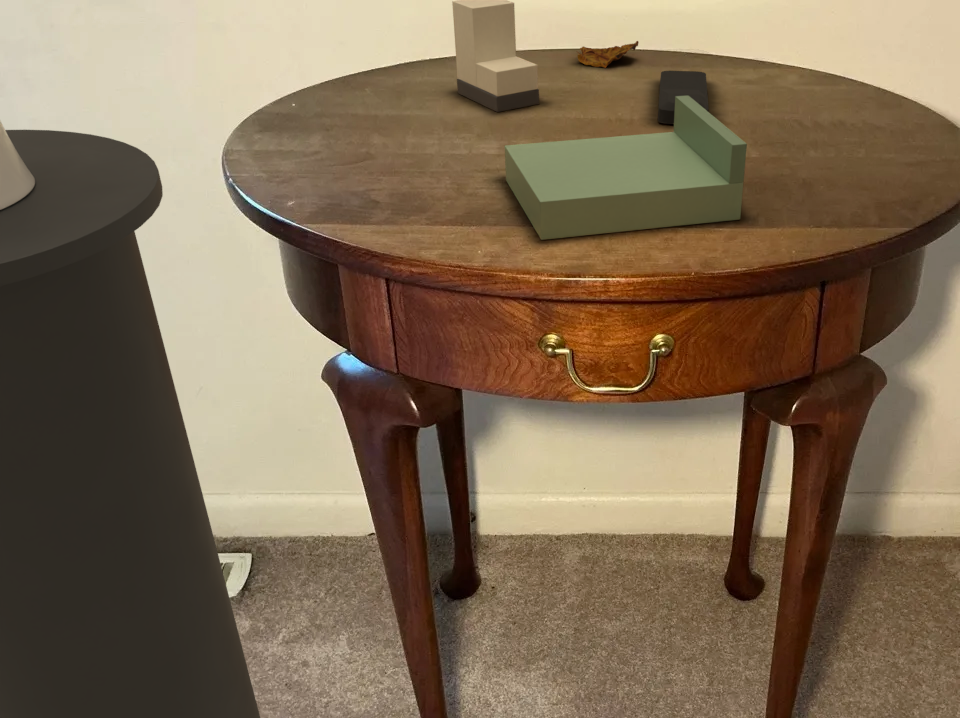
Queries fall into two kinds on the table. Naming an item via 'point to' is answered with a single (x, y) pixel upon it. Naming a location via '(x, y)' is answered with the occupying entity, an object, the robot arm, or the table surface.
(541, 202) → the green l-shaped bracket
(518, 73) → the beige stepped block
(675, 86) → the remote control
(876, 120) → the table surface
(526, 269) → the table surface
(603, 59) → the leaf
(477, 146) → the table surface
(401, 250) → the table surface
